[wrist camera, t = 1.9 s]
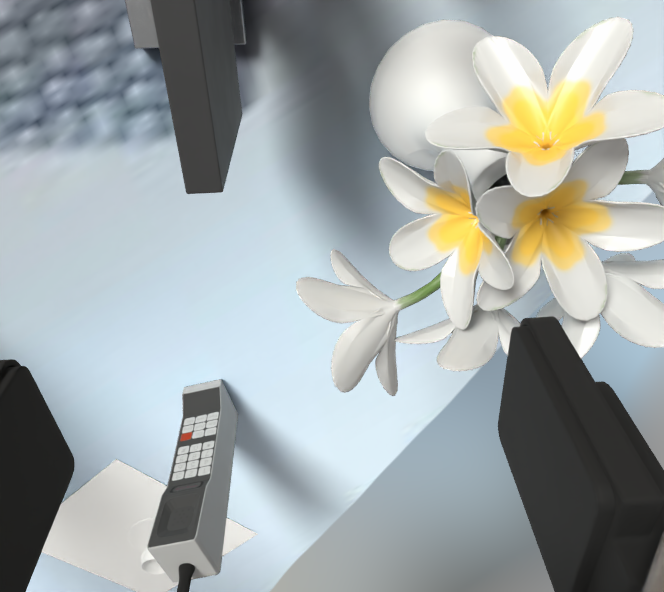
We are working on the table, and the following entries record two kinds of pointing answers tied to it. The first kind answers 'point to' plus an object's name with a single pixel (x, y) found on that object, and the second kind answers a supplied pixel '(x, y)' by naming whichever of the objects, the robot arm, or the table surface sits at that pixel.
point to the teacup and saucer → (119, 529)
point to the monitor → (197, 79)
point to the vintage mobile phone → (197, 487)
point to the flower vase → (504, 197)
